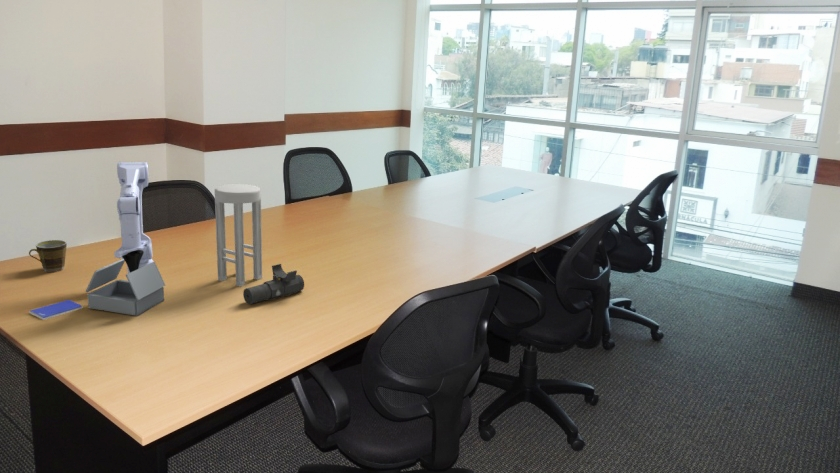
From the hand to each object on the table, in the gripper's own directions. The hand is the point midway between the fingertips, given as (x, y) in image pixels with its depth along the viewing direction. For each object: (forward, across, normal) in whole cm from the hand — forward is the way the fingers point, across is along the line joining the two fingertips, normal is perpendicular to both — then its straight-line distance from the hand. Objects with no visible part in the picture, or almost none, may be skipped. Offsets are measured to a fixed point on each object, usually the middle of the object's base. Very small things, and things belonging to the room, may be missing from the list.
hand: (133, 272), depth 214 cm
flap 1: (+1, -3, +8) cm, 9 cm away
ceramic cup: (+11, +15, +48) cm, 51 cm away
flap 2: (+1, -3, -7) cm, 7 cm away
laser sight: (+11, +21, -41) cm, 47 cm away
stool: (+11, +32, -21) cm, 40 cm away
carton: (+10, -3, +1) cm, 11 cm away
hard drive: (+11, -15, +18) cm, 26 cm away
